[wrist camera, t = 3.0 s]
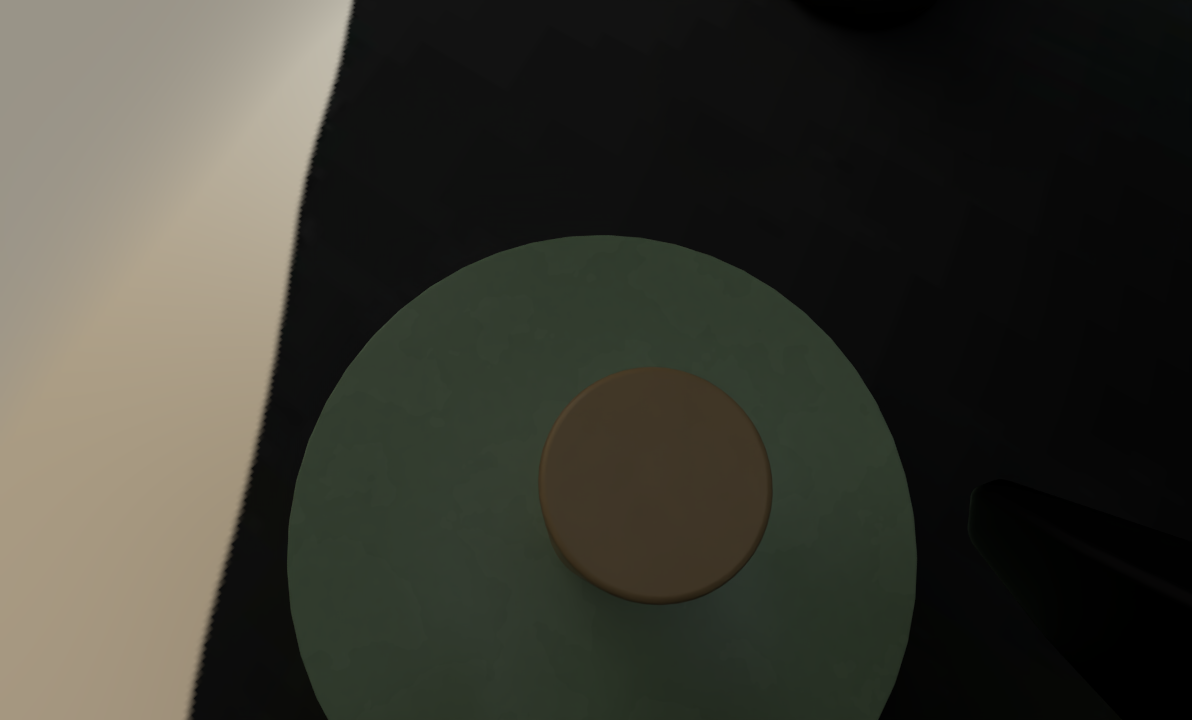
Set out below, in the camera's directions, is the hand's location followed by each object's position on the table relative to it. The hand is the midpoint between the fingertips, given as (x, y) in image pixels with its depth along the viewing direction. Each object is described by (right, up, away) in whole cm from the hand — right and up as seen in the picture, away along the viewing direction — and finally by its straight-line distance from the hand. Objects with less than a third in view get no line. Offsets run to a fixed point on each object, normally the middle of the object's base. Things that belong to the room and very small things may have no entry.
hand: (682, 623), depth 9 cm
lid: (-1, 0, +6) cm, 6 cm away
